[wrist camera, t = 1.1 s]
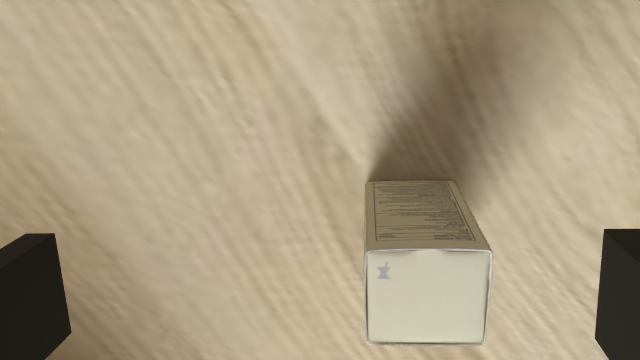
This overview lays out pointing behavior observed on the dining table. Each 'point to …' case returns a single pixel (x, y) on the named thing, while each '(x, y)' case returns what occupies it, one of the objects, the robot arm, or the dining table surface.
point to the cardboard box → (424, 266)
